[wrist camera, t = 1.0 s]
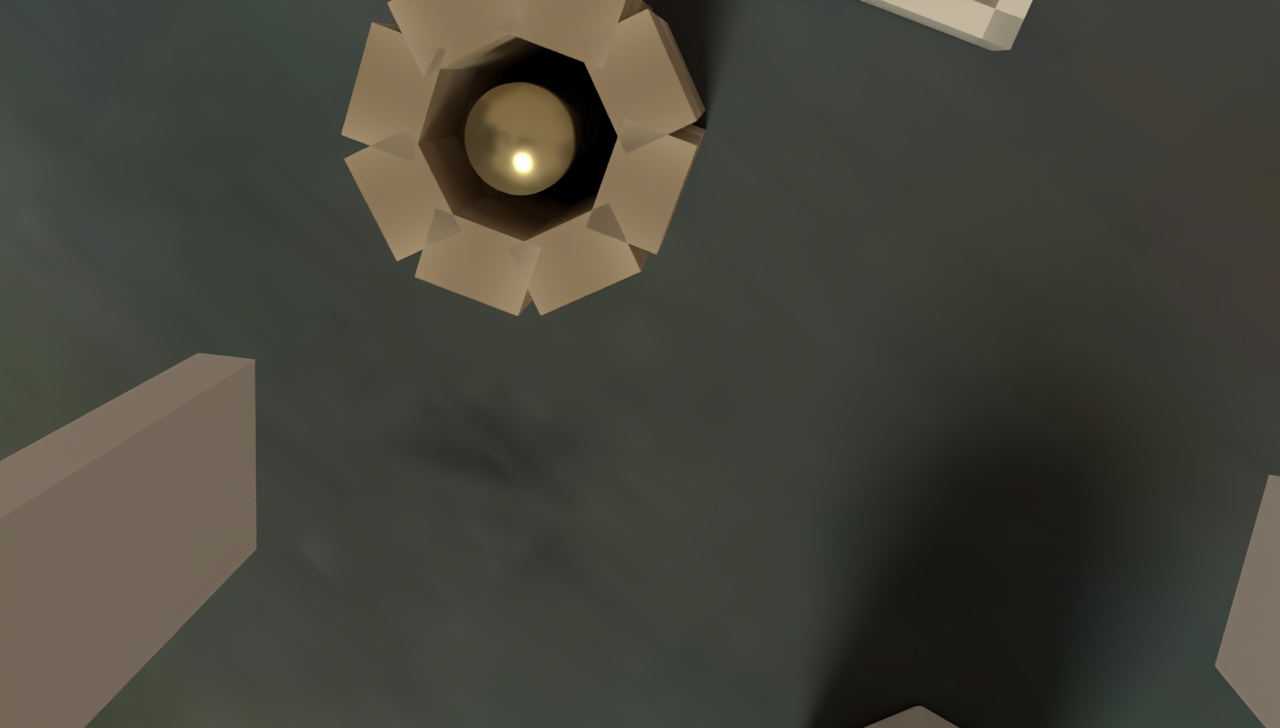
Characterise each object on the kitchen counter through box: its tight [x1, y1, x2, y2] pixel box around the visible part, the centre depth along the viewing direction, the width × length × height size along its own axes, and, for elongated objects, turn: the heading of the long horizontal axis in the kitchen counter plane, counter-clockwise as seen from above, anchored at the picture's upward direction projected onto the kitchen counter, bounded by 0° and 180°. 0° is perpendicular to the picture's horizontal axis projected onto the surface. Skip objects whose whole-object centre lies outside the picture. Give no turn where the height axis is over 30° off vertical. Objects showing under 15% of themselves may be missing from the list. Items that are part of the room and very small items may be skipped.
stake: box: [465, 82, 598, 195], centre depth 28 cm, size 3×3×7 cm
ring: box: [341, 0, 706, 316], centre depth 28 cm, size 8×9×7 cm
